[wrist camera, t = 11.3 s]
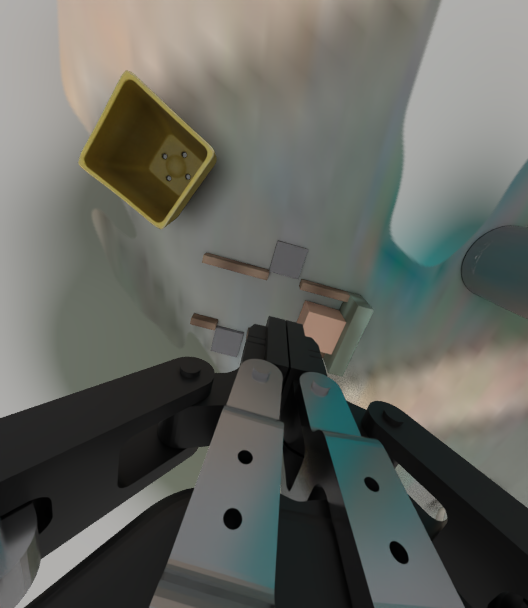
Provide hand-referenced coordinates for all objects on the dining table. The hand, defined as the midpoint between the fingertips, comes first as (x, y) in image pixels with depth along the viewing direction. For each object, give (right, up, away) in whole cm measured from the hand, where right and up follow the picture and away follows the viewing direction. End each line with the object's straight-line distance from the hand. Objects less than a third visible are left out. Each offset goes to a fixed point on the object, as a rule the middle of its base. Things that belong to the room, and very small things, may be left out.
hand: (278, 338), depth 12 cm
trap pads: (-2, +2, +25) cm, 26 cm away
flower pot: (-11, +17, +20) cm, 28 cm away
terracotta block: (+7, -1, +27) cm, 27 cm away
